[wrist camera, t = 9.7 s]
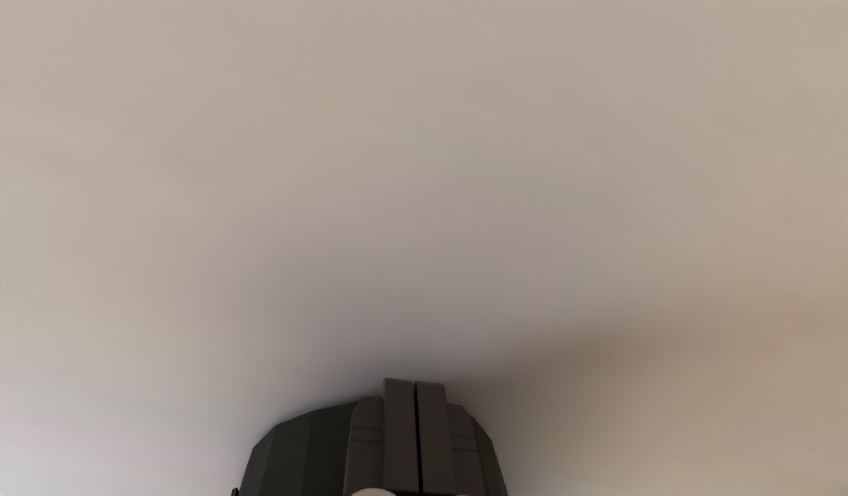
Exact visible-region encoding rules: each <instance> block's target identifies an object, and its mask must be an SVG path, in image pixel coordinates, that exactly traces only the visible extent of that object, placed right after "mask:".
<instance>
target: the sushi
mask: <svg viewBox="0 0 848 496" xmlns="http://www.w3.org/2000/svg"><path fill="white" fill-rule="evenodd" d="M377 398H381V397H377ZM358 402H359V401H358ZM358 402H353V403H348V404H344V405H339V406H334V407H329V408H325V409H320V410H315V411H311V412H309V413H306V414H304V415H301V416H298V417H296V418H293V419H291V420H288V421H286V422H283V423H280V424H278V425H276V426H275V427H274V428H273V429H272V430H271V431H270V432H269V433H268V434H267V435H266V436H265V437H264V438H263V439H262V440H261V441H260V442H259V443H258V444H257V445H256V446H255V447H254V448H253V450H252V453H251V456H250V459H249V462H248V464H247V467H246V471H245V474H244V477H243V481H242V484H241V488H240V491H239V490H238V488H235V489H233V490H232V494H231V496H343V487H344V475H345V465H346V454H347V447H348V440H349V434H350V427H351V420H352V413H353V409H354V407H355V406H356V405H357V403H358ZM446 404H447V403H446ZM448 405H449V404H448ZM468 416H469V415H468ZM469 417H470V418H471V420H472V423H473V428H474V434H475V440H476V445H477V453H478V456H479V461H480V467H481V472H482V478H483V483H484V489H485V494H486V496H508V494H507V490H506V487H505V483H504V480H503V477H502V474H501V470H500V467H499V464H498V460H497V457H496V454H495V451H494V447H493V444H492V441H491V439H490V438H489V437H488V436H487V434H486V433H485V432H484V430H483V429H482V428H481V427H480V425H479V424H478V423H477V422H476V420H475V419H474V418H473V417H471V416H469Z"/></svg>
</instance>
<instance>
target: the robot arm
mask: <svg viewBox="0 0 848 496" xmlns="http://www.w3.org/2000/svg"><path fill="white" fill-rule="evenodd" d="M343 496H486V494H485V489H484V483H483V478H482V472H481V467H480V461H479V456H478V453H477V445H476V440H475V434H474V428H473V423H472V420H471V418H470V417H469V416H468V414H467V413H466V411H465V410H464V409H463V407H462V406H458V405H448V404H446V397H445V390H444V385H443V384H440V383H430V382H421V381H415V383H414V386H413V381H410V380H400V379H390V378H385V379H384V382H383V388H382V394H381V398H376V397H366V396H362V398H361V399H360V400H359V402H358V403H357V405H356V406H355V407H354V409H353V413H352V420H351V427H350V434H349V440H348V447H347V454H346V465H345V475H344V487H343Z"/></svg>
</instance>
